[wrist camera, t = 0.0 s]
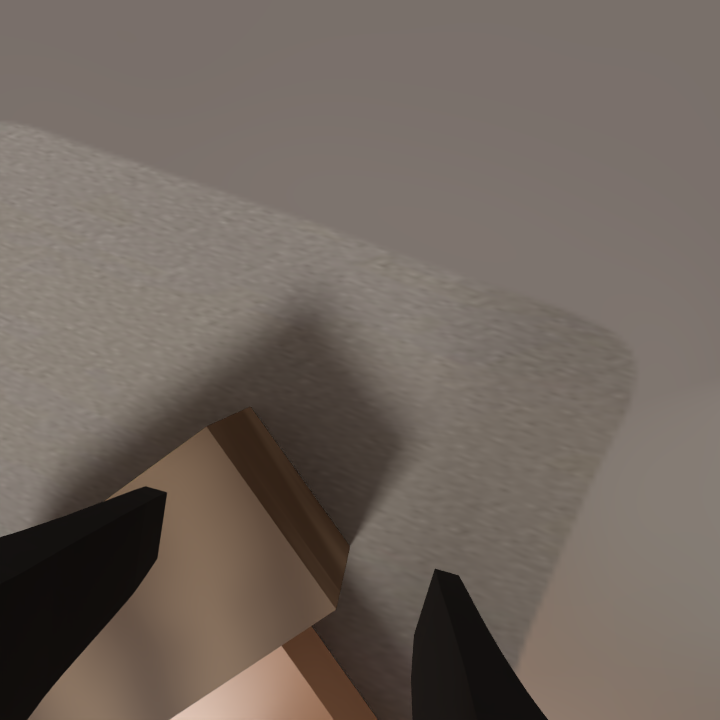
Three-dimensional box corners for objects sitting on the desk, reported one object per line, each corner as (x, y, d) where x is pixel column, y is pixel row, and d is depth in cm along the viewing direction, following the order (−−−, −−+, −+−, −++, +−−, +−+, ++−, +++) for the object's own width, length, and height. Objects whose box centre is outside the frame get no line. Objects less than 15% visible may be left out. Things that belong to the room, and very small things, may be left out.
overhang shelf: (104, 712, 23) (22, 817, 18) (11, 579, 24) (-97, 646, 18) (349, 546, 22) (336, 609, 17) (250, 406, 22) (206, 426, 17)
